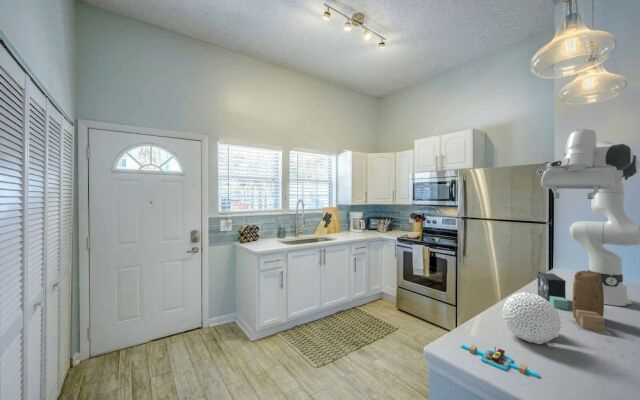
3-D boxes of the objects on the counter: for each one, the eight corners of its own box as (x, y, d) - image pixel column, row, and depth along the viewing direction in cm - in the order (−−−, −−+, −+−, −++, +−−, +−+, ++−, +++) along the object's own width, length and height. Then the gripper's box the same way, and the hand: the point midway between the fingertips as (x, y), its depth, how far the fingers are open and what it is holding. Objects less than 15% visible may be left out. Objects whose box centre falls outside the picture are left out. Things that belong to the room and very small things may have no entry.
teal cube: (549, 306, 124) (549, 295, 124) (563, 308, 121) (563, 297, 121) (553, 310, 119) (553, 299, 119) (568, 312, 117) (568, 301, 117)
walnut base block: (575, 322, 105) (575, 309, 105) (596, 325, 102) (596, 312, 102) (582, 328, 99) (582, 315, 99) (604, 332, 97) (604, 318, 97)
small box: (537, 294, 139) (537, 272, 139) (553, 296, 136) (553, 273, 136) (547, 303, 127) (548, 278, 127) (566, 306, 124) (566, 280, 124)
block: (595, 327, 103) (596, 276, 103) (570, 320, 109) (570, 271, 109) (606, 322, 108) (607, 272, 108) (581, 315, 114) (582, 268, 114)
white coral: (579, 333, 81) (540, 281, 91) (517, 349, 86) (488, 299, 96) (567, 337, 95) (536, 292, 105) (516, 351, 101) (490, 307, 111)
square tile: (568, 322, 107) (568, 319, 107) (599, 327, 103) (599, 324, 103) (579, 332, 99) (579, 329, 99) (612, 338, 95) (612, 334, 95)
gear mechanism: (467, 342, 92) (456, 352, 86) (468, 327, 92) (457, 336, 86) (542, 370, 77) (535, 385, 71) (542, 352, 77) (536, 365, 71)
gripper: (617, 169, 98) (614, 203, 94) (546, 171, 114) (540, 200, 110) (617, 159, 94) (613, 194, 91) (542, 163, 110) (537, 193, 107)
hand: (572, 197), depth 101 cm, fingers open, 8 cm apart
